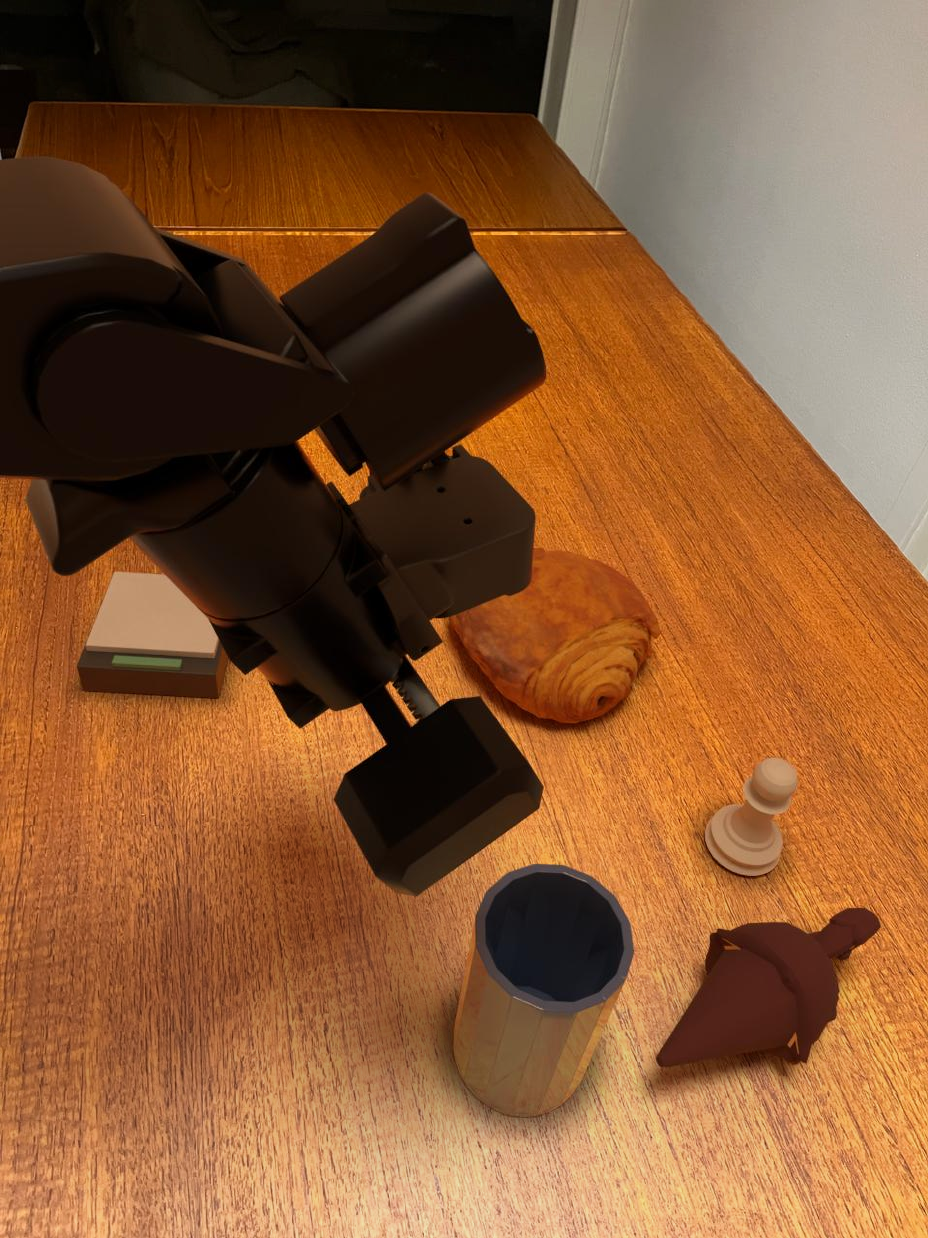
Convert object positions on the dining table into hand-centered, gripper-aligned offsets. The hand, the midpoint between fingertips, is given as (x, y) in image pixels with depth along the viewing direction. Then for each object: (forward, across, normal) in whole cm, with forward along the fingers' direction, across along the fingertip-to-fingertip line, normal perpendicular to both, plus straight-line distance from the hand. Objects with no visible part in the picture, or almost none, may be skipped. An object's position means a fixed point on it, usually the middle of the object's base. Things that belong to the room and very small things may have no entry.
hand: (422, 744), depth 44 cm
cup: (+15, -9, +5) cm, 18 cm away
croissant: (+23, +14, -10) cm, 29 cm away
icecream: (+20, -14, -5) cm, 25 cm away
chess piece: (+24, -5, -12) cm, 27 cm away
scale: (+12, +26, +12) cm, 31 cm away
